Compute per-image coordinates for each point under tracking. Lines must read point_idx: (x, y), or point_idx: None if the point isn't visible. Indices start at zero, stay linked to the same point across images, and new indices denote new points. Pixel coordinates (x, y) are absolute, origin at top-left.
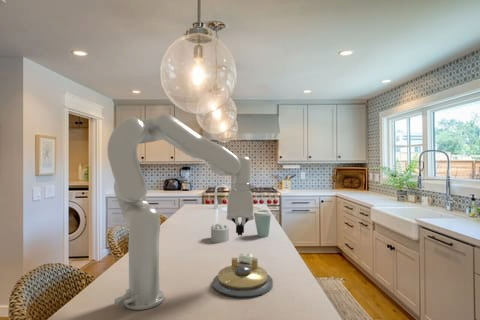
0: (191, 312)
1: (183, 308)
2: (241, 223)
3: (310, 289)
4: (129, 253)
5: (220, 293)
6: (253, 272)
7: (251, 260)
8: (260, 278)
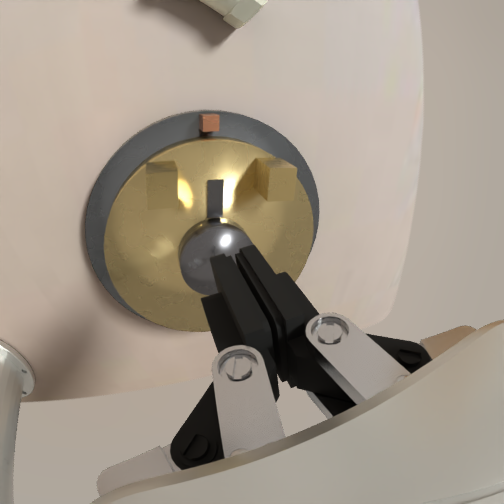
0: (117, 385)
1: (91, 378)
2: (306, 388)
3: (397, 228)
4: None
5: None
6: (260, 236)
7: (238, 20)
8: None
